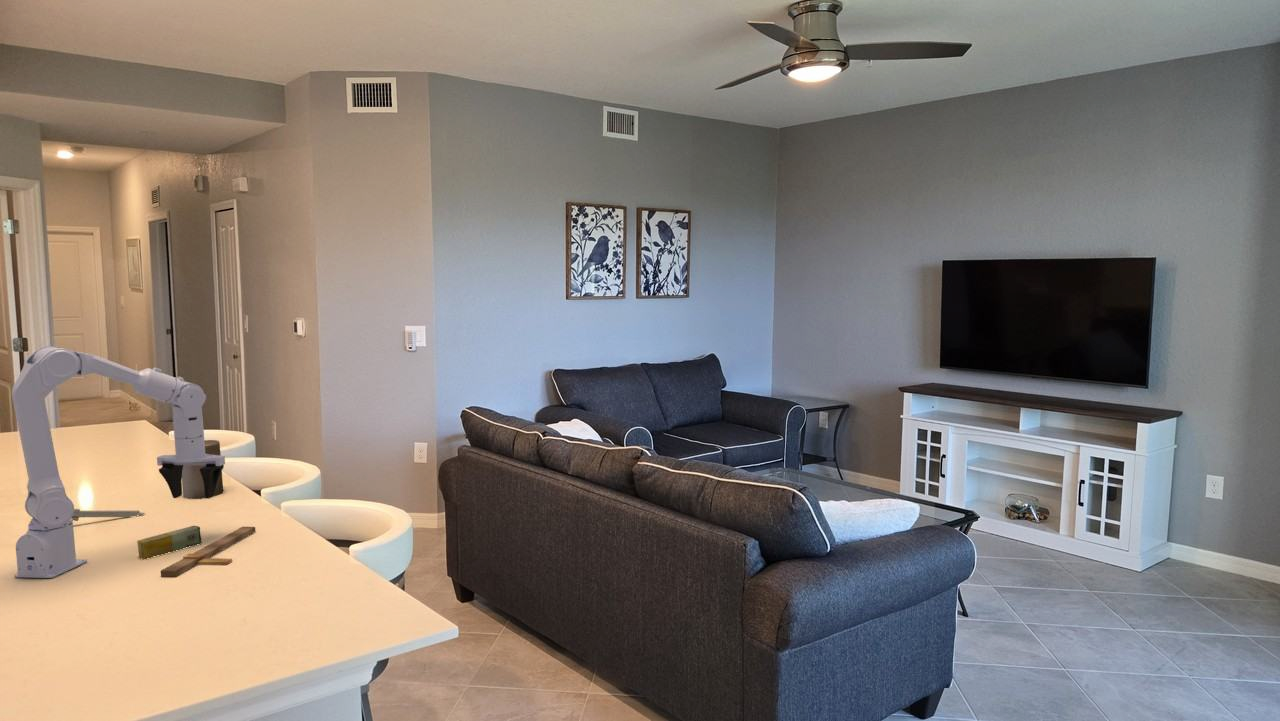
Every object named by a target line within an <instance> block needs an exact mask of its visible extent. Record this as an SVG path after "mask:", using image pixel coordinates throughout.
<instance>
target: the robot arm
mask: <svg viewBox="0 0 1280 721" xmlns="http://www.w3.org/2000/svg"><path fill="white" fill-rule="evenodd" d="M162 371H163V370H162V369H161V368H158V367H153V368H149V367H147V368H144V369H141V370H136V369H133V368H130V367H128V366H125V365H122V364H120V363H117V362H115V361H111V360H109V359H106V358H104V357H102V356H101V357H100V356H98V355H96V354H91V353H86V352H81V351H76V350H71V349H68V348H61V347H60V348H59V347H57V346H53V345H46V346H42V347H40V348H38V349H37V350H35V351H33V353H31V354H30V355H29V356H28V357H26V359H24V362H23V366H22V369H21V371H20V373H19V375H18V377H17V378H16V381H15V382H14V385H13V386H12V389H11V397H12V402H13V408H14V411H15V417H16V423H17V427H18V428H17V429H18V432H19V437H20V442H21V443H20V444H21V447H22V453H23V457H24V458H23V459H24V463H25V467H26V468H25V469H26V473H27V478H28V481H27V483H26V484H27V486H26V488H27V497H26V500H25V503H24V508H25V512H26V513H27V514H28V515H29V517H31V520H30V521H29V524H28V526H27V527H28V528H27V531H26V533H25V534H23V535H21V536H20V537H19V538H18V539H17V541H16V543H15V555H16V556H15V558H16V567H17V573H15V574H13V575H14V576H13V577H14V578H36V579H40V578H42V579H53V578H54V577H57V576H59V575H61V574H63V573H65V572H68V571H70V570H72V569H74V568H77V567H78V566H80V565H83V564H85V563H88V559H86V558H77V556H76V541H75V533H74V532H75V531H74V520H73V519H72V518H71V517H72V516H73V513H74V509H75V506H74V502H73V501H72V500H71V499H70V498H69V496H67V493H66V488H65V486H64V484H63V481H62V479H61V477H60V473H59V468H58V463H57V462H58V461H57V457H56V452H55V446H54V442H53V436H52V430H51V427H50V426H51V425H50V421H49V416H48V412H47V411H48V410H47V405H46V397H48V395H49V394H51V393H52V392H53V391H54V389H55V388H56V387H58V386H59V385H61V384H63V383H65V382H67V381H68V380H71V379H73V378H74V377H75V376H76V375H77V376H87V375H91V374H92V375H93V374H95V375H98V376H102V377H104V378H108V379H111V380H115V381H118V382H122V383H123V384H124V383H125V384H128V385H131V386H132V388H133V390H134V392H135V394H138V395H140V396H143V397H147V398H149V399H153V400H155V401H159V402H162V403H164V404H170V405H171V407H172V419H173V420H172V423H173V433H174V436H173V437H174V448H175V449H174V450H175V454H169V455H168V454H162V455H160V456H157V457H156V462H157V463H156V464H157V466H161V467H160V468H159V469H158V473H159V474H160V475H161V476H162V477H163V479H164V480H165V482H166V484H167V486H168V487H169V491H170V493H171V496H172V499H177V498H179V497H183V496H182V495H183V488H182V470H183V465H206V467H203V468H200V472H201V475H202V478H203V482H204V490H205V497H204V498H205V499H212V498H213V497H215V495H214V494H215V488H216V484H217V481H218V478H219V475H220V473H221V471H222V472H223V470H224V468H225V467H224V465H226V459H225V458H226V457H225V456H226V455H221V456H220V455H211V454H205V443H204V440H205V430H204V418H203V416H204V415H203V405H204V404H205V402H206V399H207V394H205V393H204V390H203V388H202V387H201V386H200V385H199V384H196V383H194V382H193V383H192V382H188V381H186V380H184V378H183V377H181V376H177V377H174V376H172V375H169V374H167V373H164V372H162Z"/></svg>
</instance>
